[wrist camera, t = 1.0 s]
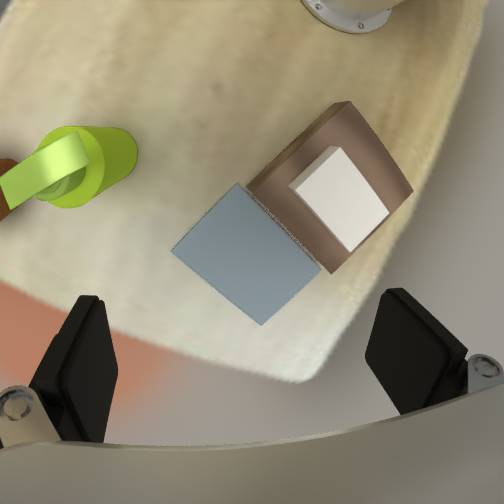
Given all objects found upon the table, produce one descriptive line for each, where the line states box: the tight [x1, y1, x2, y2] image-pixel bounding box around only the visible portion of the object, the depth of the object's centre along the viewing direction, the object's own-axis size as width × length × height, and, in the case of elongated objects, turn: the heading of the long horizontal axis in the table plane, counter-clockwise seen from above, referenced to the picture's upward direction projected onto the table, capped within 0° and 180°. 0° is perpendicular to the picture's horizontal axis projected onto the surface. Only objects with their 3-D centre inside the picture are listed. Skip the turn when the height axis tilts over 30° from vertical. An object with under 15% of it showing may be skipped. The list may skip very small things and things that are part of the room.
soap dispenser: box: [0, 126, 138, 210], centre depth 22 cm, size 6×7×20 cm
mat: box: [171, 184, 321, 326], centre depth 38 cm, size 10×15×1 cm
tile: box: [288, 146, 389, 252], centre depth 32 cm, size 6×9×2 cm, turn 44°
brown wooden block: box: [246, 101, 414, 274], centre depth 35 cm, size 14×13×4 cm
